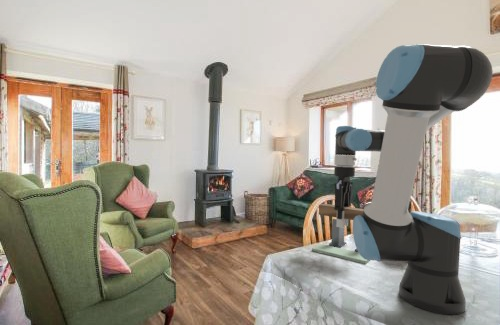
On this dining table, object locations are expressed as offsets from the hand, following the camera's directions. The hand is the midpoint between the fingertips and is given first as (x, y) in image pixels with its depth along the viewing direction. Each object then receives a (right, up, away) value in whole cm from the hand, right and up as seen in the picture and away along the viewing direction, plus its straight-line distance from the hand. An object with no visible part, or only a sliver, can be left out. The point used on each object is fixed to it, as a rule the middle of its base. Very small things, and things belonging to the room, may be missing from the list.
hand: (342, 225), depth 112 cm
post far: (+2, -11, +12) cm, 16 cm away
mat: (0, -11, 0) cm, 11 cm away
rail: (0, +3, 0) cm, 3 cm away
